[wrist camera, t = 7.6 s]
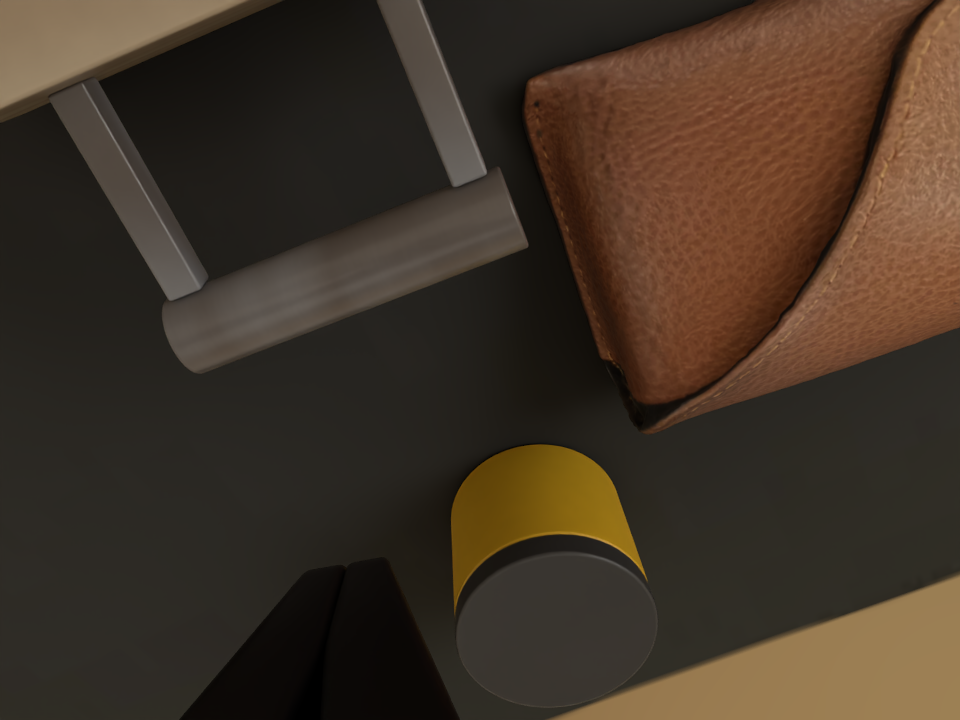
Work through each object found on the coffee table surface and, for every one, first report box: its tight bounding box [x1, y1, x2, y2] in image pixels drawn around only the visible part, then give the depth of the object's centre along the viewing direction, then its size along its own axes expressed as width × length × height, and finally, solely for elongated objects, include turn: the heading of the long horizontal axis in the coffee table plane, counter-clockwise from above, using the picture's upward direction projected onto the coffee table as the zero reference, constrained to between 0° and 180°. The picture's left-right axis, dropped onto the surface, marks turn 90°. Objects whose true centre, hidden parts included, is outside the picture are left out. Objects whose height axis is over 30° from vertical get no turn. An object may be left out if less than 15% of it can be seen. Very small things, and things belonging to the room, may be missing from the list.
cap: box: [451, 444, 658, 707], centre depth 21 cm, size 5×5×4 cm
